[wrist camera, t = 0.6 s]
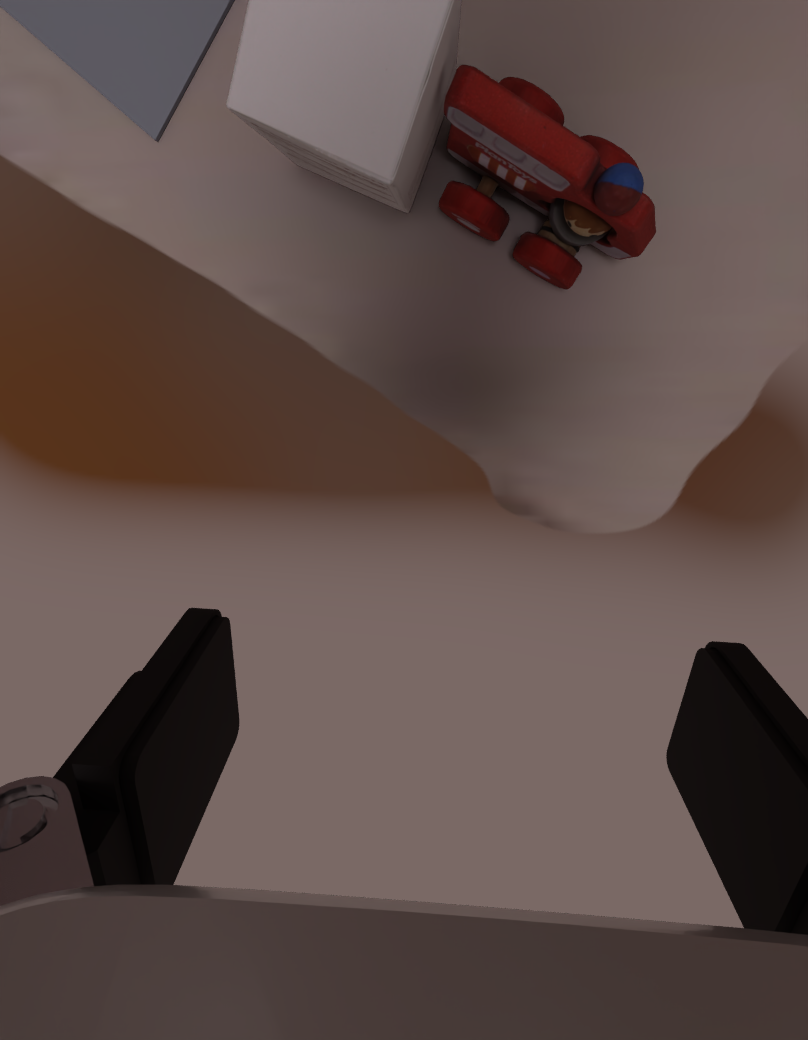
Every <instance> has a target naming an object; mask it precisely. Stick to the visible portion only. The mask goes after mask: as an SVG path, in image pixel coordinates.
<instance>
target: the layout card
mask: <svg viewBox="0 0 808 1040" xmlns="http://www.w3.org/2000/svg"><path fill="white" fill-rule="evenodd" d="M233 2H234V0H0V6H1V7H2V8H3V9H4V10H5V11H6V12H7V13H9V14H10V15H11V16H12V17H13V18H14V19H16V20H17V21H18V22H19V23H20V24H21V25H22V26H24V27H25V28H26V29H27V30H28V31H29V32H31V33H32V34H33V35H34V36H35V37H36V38H37V39H39V40H40V41H41V42H42V43H43V44H44V45H46V46H47V47H48V48H49V49H50V50H51V51H52V52H54V53H55V54H56V55H57V56H58V57H59V58H61V59H62V60H63V61H64V62H65V63H66V64H67V65H69V66H70V67H71V68H72V69H73V70H74V71H76V72H77V73H78V74H79V75H80V76H81V77H83V78H84V79H85V80H86V81H87V82H88V83H89V84H91V85H92V86H93V87H94V88H95V89H96V90H98V91H99V92H100V93H101V94H102V95H103V96H104V97H106V98H107V99H108V100H109V101H110V102H111V103H113V104H114V105H115V106H116V107H117V108H118V109H119V110H121V111H122V112H123V113H124V114H125V115H126V116H128V117H129V118H130V119H131V120H132V121H133V122H134V123H136V124H137V125H138V126H139V127H140V128H141V129H143V130H144V131H145V132H146V133H147V134H148V135H150V136H151V137H152V138H153V139H154V140H155V141H157V142H158V141H159V139H160V137H161V135H162V134H163V132H164V130H165V128H166V126H167V124H168V122H169V121H170V119H171V117H172V115H173V113H174V111H175V109H176V108H177V106H178V104H179V102H180V100H181V98H182V96H183V95H184V93H185V91H186V89H187V87H188V85H189V83H190V82H191V80H192V78H193V76H194V74H195V72H196V70H197V69H198V67H199V65H200V63H201V61H202V59H203V57H204V56H205V54H206V52H207V50H208V48H209V46H210V44H211V43H212V41H213V39H214V37H215V35H216V33H217V31H218V30H219V28H220V26H221V24H222V22H223V20H224V18H225V17H226V15H227V13H228V11H229V9H230V7H231V5H232V4H233Z"/></svg>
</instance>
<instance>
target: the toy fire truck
mask: <svg viewBox="0 0 808 1040" xmlns="http://www.w3.org/2000/svg"><path fill="white" fill-rule="evenodd" d="M444 114H445V116H446V118H447V119H448V120H449V121H450V122H451V127H450V132H449V137H448V142H447V150H448V152H449V153H450V154H451V155H452V156H453V157H454V158H456V159H457V160H458V161H460V162H462V163H463V164H465V165H466V166H467V167H469V168H471V169H472V170H474V171H476V172H477V173H478V174H479V175H480V176H481V177H482V180H481V182H480V184H479V186H478V187H477V189H474V188H472V187H471V186H469V185H466V184H464V183H461V182H455V181H450V182H449V183H448V184H447V186H446V188H445V190H444V192H443V194H442V196H441V198H440V200H439V208H440V209H441V210H442V211H443V212H444V213H445V214H446V215H447V216H449V217H450V218H451V219H453V220H454V221H456V222H457V223H459V224H460V225H462V226H464V227H465V228H467V229H469V230H470V231H472V232H474V233H475V234H477V235H480V236H482V237H484V238H486V239H488V240H491V241H497V240H499V239H500V237H501V236H502V234H503V232H504V230H505V229H506V227H507V225H508V223H509V220H510V217H509V215H508V213H507V212H506V210H505V209H504V208H502V207H501V206H500V205H499V204H497V203H496V202H495V201H494V200H492V199H491V197H492V195H493V193H494V191H495V189H496V187H500V188H502V189H504V190H505V191H507V192H509V193H510V194H512V195H514V196H515V197H517V198H518V199H520V200H522V201H523V202H525V203H526V204H528V205H529V206H531V207H533V208H534V209H536V210H538V211H539V212H541V213H542V214H544V215H546V216H548V217H549V220H546V221H545V222H544V224H543V226H542V227H541V230H540V231H539V233H538V234H534V233H531V232H525V233H524V234H522V235H521V237H520V240H519V242H518V243H517V245H516V247H515V249H514V251H513V257H514V259H515V260H516V261H517V262H519V263H520V264H521V265H522V266H524V267H525V268H527V269H528V270H529V271H530V272H532V273H534V274H535V275H537V276H539V277H540V278H542V279H544V280H546V281H548V282H549V283H551V284H553V285H555V286H557V287H560V288H563V289H569V288H570V287H571V286H572V285H573V284H574V282H575V280H576V279H577V277H578V275H579V274H580V273H581V270H582V265H581V263H580V262H579V261H578V260H577V259H576V258H575V257H574V256H575V254H576V253H577V252H578V251H579V248H580V246H584V245H587V244H591V245H593V246H594V247H596V248H597V249H599V250H601V251H602V252H604V253H605V254H607V255H609V256H611V257H613V258H615V259H626V258H631V257H638V256H639V255H640V254H641V253H642V252H643V251H644V249H645V248H646V246H647V245H648V243H649V242H650V241H651V239H652V238H653V236H654V235H655V233H656V227H655V207H654V204H653V202H652V201H651V199H650V198H649V197H648V196H647V195H646V194H644V193H643V192H642V191H643V185H644V182H643V177H642V174H641V172H640V171H639V168H638V166H637V164H636V162H635V161H634V160H633V158H632V157H631V156H630V155H629V154H628V153H626V152H625V151H624V150H623V149H622V148H620V147H618V146H616V145H615V144H613V143H612V142H610V141H608V140H606V139H603V138H600V137H597V136H592V135H586V136H582V137H579V136H578V135H576V134H574V133H573V132H571V131H570V130H568V129H567V128H565V127H564V126H563V124H564V115H563V112H562V110H561V108H560V107H559V106H558V104H557V103H556V102H555V101H554V99H552V98H551V97H550V95H548V94H547V93H545V92H544V91H543V90H542V89H540V88H538V87H537V86H535V85H534V84H532V83H530V82H528V81H526V80H523V79H520V78H514V77H507V78H504V79H502V80H501V81H500V82H499V83H498V82H497V81H495V80H493V79H491V78H490V77H489V76H487V75H485V74H484V73H483V72H481V71H480V70H478V69H477V68H475V67H472V66H468V65H461V66H460V67H459V68H458V69H457V71H456V73H455V75H454V78H453V80H452V82H451V85H450V87H449V89H448V92H447V94H446V96H445V102H444Z"/></svg>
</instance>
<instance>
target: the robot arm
mask: <svg viewBox="0 0 808 1040" xmlns="http://www.w3.org/2000/svg"><path fill="white" fill-rule="evenodd" d="M238 730H239V712H238V701H237V691H236V680H235V670H234V659H233V650H232V638H231V629H230V621H229V619H228V618H227V617H222V616H221V613H220V611H219V610H216V609H200V608H189V609H188V610H187V611H186V612H185V614H184V615H183V616H182V618H181V619H180V620H179V622H178V623H177V624H176V626H175V627H174V628H173V630H172V631H171V632H170V634H169V635H168V636H167V638H166V639H165V640H164V642H163V643H162V645H161V646H160V647H159V648H158V650H157V651H156V652H155V654H154V655H153V657H152V658H151V659H150V660H149V662H148V663H147V665H146V666H145V667H144V668H143V670H142V671H138V672H135V673H134V674H133V675H132V676H131V677H130V678H129V679H128V680H127V682H126V683H125V684H124V686H123V687H122V688H121V689H120V691H119V692H118V693H117V695H116V696H115V697H114V699H113V700H112V701H111V702H110V704H109V705H108V706H107V708H106V709H105V710H104V712H103V713H102V714H101V716H100V717H99V718H98V719H97V721H96V722H95V724H94V725H93V726H92V727H91V729H90V730H89V731H88V733H87V734H86V735H85V736H84V738H83V739H82V740H81V742H80V743H79V744H78V746H77V747H76V748H75V749H74V751H73V752H72V753H71V755H70V756H69V757H68V759H67V760H66V761H65V763H64V764H63V765H62V766H61V768H60V769H59V770H58V772H57V773H56V774H55V776H54V777H53V778H51V777H44V776H39V777H30V778H24V779H20V780H17V781H14V782H10V783H8V784H6V785H4V786H2V787H0V1040H808V719H807V717H806V716H805V715H804V714H803V713H802V711H801V710H800V709H799V708H798V707H797V706H796V704H795V703H794V702H793V701H792V700H791V698H790V697H789V696H788V695H787V694H786V693H785V691H784V690H783V689H782V688H781V687H780V686H779V684H778V683H777V682H776V681H775V680H774V679H773V677H772V676H771V675H770V674H769V673H768V671H767V670H766V669H765V668H764V667H763V666H762V664H761V663H760V662H759V661H758V660H757V658H756V657H755V656H754V655H753V654H752V652H751V651H750V650H749V649H748V648H747V647H746V646H745V645H744V644H741V643H728V642H713V641H712V642H709V643H708V644H707V645H706V647H705V648H701V649H699V650H698V651H697V653H696V656H695V659H694V662H693V666H692V669H691V672H690V676H689V679H688V682H687V686H686V689H685V693H684V696H683V699H682V702H681V706H680V709H679V712H678V716H677V719H676V722H675V726H674V729H673V732H672V736H671V739H670V742H669V746H668V749H667V764H668V768H669V771H670V773H671V775H672V777H673V780H674V781H675V784H676V786H677V788H678V790H679V792H680V794H681V796H682V798H683V801H684V803H685V805H686V807H687V809H688V811H689V813H690V815H691V817H692V819H693V821H694V823H695V826H696V828H697V830H698V832H699V834H700V836H701V838H702V840H703V842H704V845H705V847H706V849H707V851H708V853H709V855H710V857H711V859H712V861H713V864H714V865H715V867H716V870H717V872H718V874H719V876H720V878H721V880H722V882H723V885H724V887H725V889H726V891H727V893H728V895H729V897H730V899H731V901H732V903H733V905H734V908H735V910H736V912H737V914H738V916H739V918H740V920H741V922H742V924H743V927H744V928H733V927H722V926H710V925H699V924H687V923H675V922H664V921H652V920H640V919H629V918H616V917H605V916H594V915H593V916H592V915H580V914H569V913H556V912H544V911H532V910H519V909H506V908H494V907H481V906H469V905H456V904H442V903H430V902H417V901H405V900H390V899H378V898H364V897H349V896H337V895H336V896H335V895H322V894H309V893H296V892H282V891H269V890H253V889H235V888H217V887H198V886H180V885H173V884H174V882H175V880H176V877H177V875H178V873H179V870H180V868H181V866H182V863H183V861H184V859H185V856H186V854H187V852H188V849H189V847H190V845H191V843H192V840H193V838H194V836H195V833H196V831H197V829H198V826H199V824H200V822H201V819H202V817H203V815H204V812H205V810H206V807H207V806H208V803H209V801H210V798H211V796H212V794H213V792H214V789H215V787H216V785H217V782H218V780H219V778H220V775H221V773H222V771H223V769H224V766H225V764H226V762H227V759H228V757H229V755H230V752H231V750H232V748H233V745H234V743H235V741H236V738H237V734H238Z"/></svg>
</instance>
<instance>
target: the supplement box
mask: <svg viewBox="0 0 808 1040" xmlns="http://www.w3.org/2000/svg"><path fill="white" fill-rule="evenodd" d="M461 3H462V0H249V1H248V5H247V10H246V15H245V19H244V24H243V28H242V33H241V38H240V42H239V47H238V52H237V57H236V61H235V66H234V71H233V76H232V80H231V85H230V90H229V94H228V98H227V102H226V106H227V107H228V108H229V109H230V110H231V111H232V112H233V113H234V114H236V115H237V116H238V117H239V118H241V119H242V120H243V121H244V122H246V123H247V124H248V125H249V126H250V127H252V128H253V129H254V130H256V131H257V132H258V133H259V134H261V135H262V136H263V137H265V138H266V139H267V140H268V141H269V142H270V143H272V144H273V145H274V146H275V147H276V148H277V149H279V150H280V151H281V152H282V153H284V154H285V155H286V156H287V157H288V158H289V159H290V160H291V161H293V162H294V163H295V164H296V165H298V166H300V167H302V168H305V169H307V170H309V171H312V172H314V173H316V174H318V175H321V176H323V177H325V178H327V179H329V180H332V181H334V182H336V183H338V184H341V185H343V186H345V187H347V188H350V189H352V190H354V191H357V192H359V193H361V194H363V195H366V196H368V197H370V198H372V199H374V200H377V201H379V202H382V203H384V204H386V205H388V206H391V207H393V208H395V209H398V210H400V211H403V212H405V213H409V211H410V209H411V207H412V204H413V202H414V199H415V196H416V194H417V191H418V188H419V186H420V183H421V180H422V177H423V174H424V172H425V169H426V166H427V163H428V161H429V158H430V155H431V153H432V150H433V147H434V144H435V141H436V138H437V135H438V132H439V129H440V126H441V123H442V121H443V118H444V115H445V114H444V102H445V96H446V94H447V92H448V89H449V87H450V85H451V82H452V80H453V78H454V75H455V73H456V63H457V51H458V39H459V27H460V15H461Z"/></svg>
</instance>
